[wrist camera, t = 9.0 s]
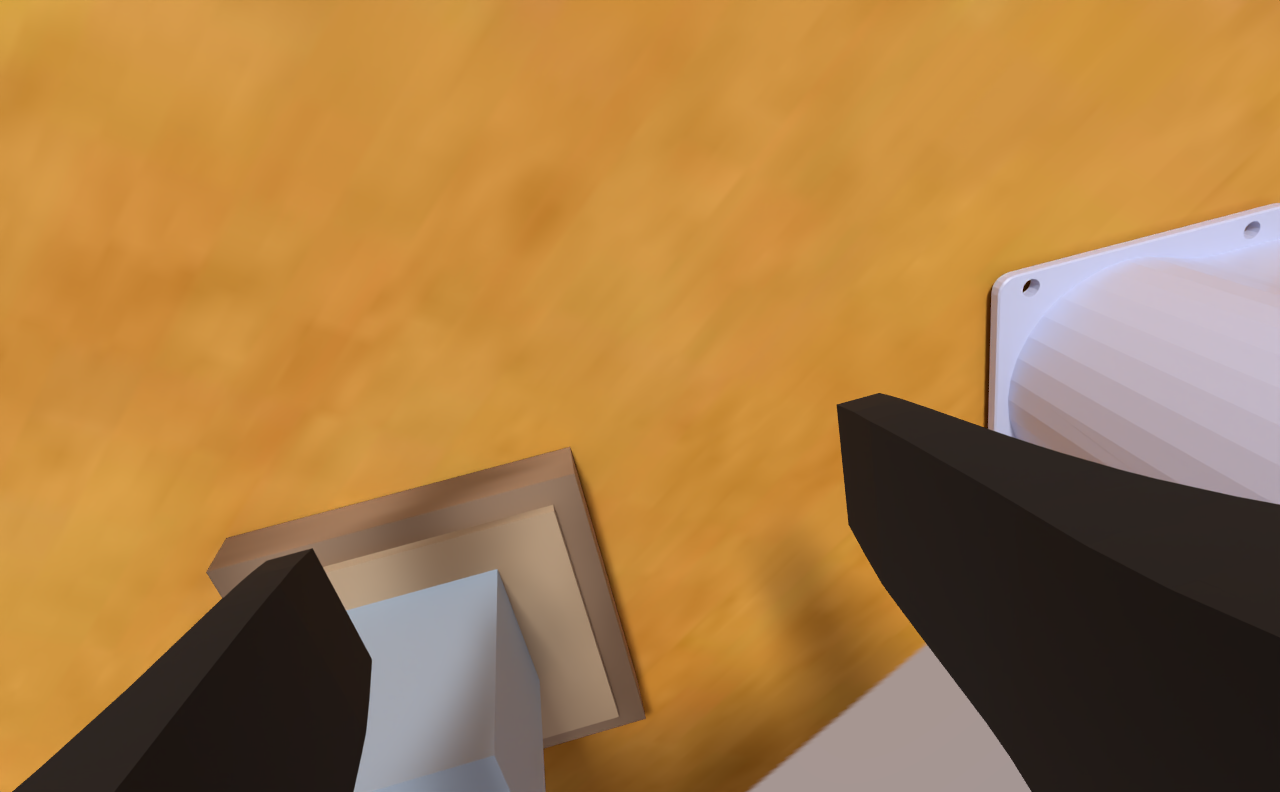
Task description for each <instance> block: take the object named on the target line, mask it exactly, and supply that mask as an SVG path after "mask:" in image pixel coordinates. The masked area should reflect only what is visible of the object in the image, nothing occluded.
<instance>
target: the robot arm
mask: <svg viewBox="0 0 1280 792" xmlns="http://www.w3.org/2000/svg"><path fill="white" fill-rule="evenodd" d="M1246 227H1247V228H1246ZM1245 228H1246V230H1245ZM1029 280H1030V281H1031V283H1030V286H1029V288H1028V289H1027V290H1026V291H1024V292H1023V287H1024V285H1025V284H1026V282H1027V281H1029ZM837 413H838V423H839V433H840V443H841V453H842V463H843V473H844V483H845V493H846V503H847V513H848V523H849V526H850V528H851V530H852V532H853V533H854V535H855V537H856V539H857V541H858V542H859V544H860V546H861V548H862V550H863V552H864V553H865V555H866V557H867V559H868V561H869V562H870V564H871V566H872V567H873V569H874V571H875V573H876V574H877V576H878V578H879V579H880V581H881V583H882V585H883V586H884V587H885V589H886V590H887V591H888V593H889V594H890V596H891V597H892V598H893V600H894V601H895V602H896V604H897V605H898V606H899V608H900V609H901V610H902V612H903V613H904V614H905V616H906V617H907V618H908V620H909V621H910V622H911V624H912V625H913V626H914V628H915V629H916V630H917V632H918V633H919V634H920V636H921V637H922V638H923V640H924V641H925V642H926V644H927V645H928V646H929V648H930V649H931V650H932V652H933V653H934V654H935V656H936V657H937V658H938V659H939V661H940V662H941V663H942V665H943V666H944V667H945V669H946V670H947V671H948V673H949V674H950V675H951V677H952V678H953V679H954V680H955V682H956V683H957V685H958V686H959V687H960V688H961V690H962V691H963V692H964V694H965V695H966V696H967V698H968V699H969V700H970V702H971V703H972V704H973V706H974V707H975V708H976V710H977V711H978V712H979V714H980V715H981V716H982V718H983V719H984V720H985V721H986V723H987V724H988V726H989V727H990V729H991V730H992V732H993V733H994V734H995V736H996V737H997V739H998V740H999V742H1000V743H1001V745H1002V746H1003V747H1004V749H1005V750H1006V752H1007V753H1008V754H1009V756H1010V758H1011V759H1012V761H1013V762H1014V764H1015V766H1016V767H1017V769H1018V770H1019V772H1020V774H1021V775H1022V777H1023V778H1024V780H1025V782H1026V783H1027V785H1028V787H1029V788H1030V790H1031V791H1032V792H1280V203H1274V204H1270V205H1266V206H1262V207H1258V208H1254V209H1250V210H1247V211H1243V212H1239V213H1235V214H1231V215H1227V216H1223V217H1220V218H1216V219H1212V220H1208V221H1204V222H1200V223H1197V224H1193V225H1189V226H1185V227H1181V228H1177V229H1173V230H1170V231H1166V232H1162V233H1158V234H1154V235H1150V236H1146V237H1143V238H1139V239H1135V240H1131V241H1127V242H1123V243H1119V244H1116V245H1112V246H1108V247H1104V248H1100V249H1096V250H1093V251H1089V252H1085V253H1081V254H1077V255H1073V256H1069V257H1066V258H1062V259H1058V260H1054V261H1050V262H1046V263H1042V264H1039V265H1035V266H1031V267H1027V268H1023V269H1019V270H1015V271H1012V272H1008V273H1006V274H1004V275H1002V276H1000V277H999V278H998V279H997V280H996V282H995V283H994V285H993V288H992V293H991V331H990V371H989V412H988V429H987V428H984V427H981V426H978V425H975V424H972V423H970V422H967V421H964V420H961V419H958V418H955V417H952V416H950V415H947V414H944V413H941V412H938V411H935V410H933V409H930V408H927V407H924V406H921V405H918V404H915V403H912V402H909V401H906V400H903V399H900V398H896V397H893V396H889V395H885V394H881V393H878V394H874V395H870V396H867V397H863V398H859V399H856V400H852V401H848V402H845V403H841V404H837ZM371 671H372V658H371V656H370V654H369V652H368V651H367V649H366V647H365V645H364V643H363V641H362V639H361V637H360V636H359V634H358V632H357V630H356V628H355V626H354V624H353V623H352V621H351V619H350V617H349V615H348V613H347V611H346V609H345V608H344V606H343V604H342V602H341V600H340V598H339V596H338V595H337V593H336V591H335V589H334V587H333V585H332V583H331V582H330V580H329V578H328V576H327V574H326V572H325V570H324V568H323V567H322V565H321V563H320V561H319V559H318V557H317V555H316V554H315V552H314V550H313V548H311V549H307V550H304V551H300V552H296V553H293V554H289V555H285V556H282V557H278V558H274V559H271V560H267V561H265V562H264V563H263V564H262V565H260V566H259V567H258V568H256V569H255V570H254V571H253V572H251V573H250V574H249V575H248V576H247V577H246V578H244V579H243V580H242V581H241V582H240V583H239V584H238V585H237V586H235V587H234V588H233V589H232V590H231V591H230V592H229V593H228V594H227V595H226V596H225V597H223V598H222V599H221V600H220V601H219V602H218V603H217V604H216V605H215V606H214V607H213V608H212V609H211V610H210V611H209V612H208V613H206V614H205V615H204V616H203V617H202V618H201V619H200V620H199V621H198V622H197V623H196V624H195V625H194V626H193V627H192V628H191V629H190V630H189V631H188V632H187V633H186V634H185V635H183V636H182V637H181V638H180V639H179V640H178V641H177V642H176V643H175V644H174V645H173V646H172V647H171V648H170V649H169V650H168V651H167V652H166V653H165V654H164V655H163V656H161V657H160V658H159V659H158V660H157V661H156V662H155V663H154V664H153V665H152V666H151V667H150V668H149V669H148V670H147V671H146V672H145V673H144V674H143V675H142V676H141V677H139V678H138V679H137V680H136V681H135V682H134V683H133V684H132V685H131V686H130V687H129V688H128V689H127V690H126V691H125V692H124V693H122V694H121V695H120V696H119V697H118V698H117V699H116V700H115V701H114V702H112V703H111V704H110V705H109V706H108V707H107V708H106V709H105V710H104V711H102V712H101V713H100V714H99V715H98V716H97V717H96V718H95V719H94V720H93V721H91V722H90V723H89V724H88V725H87V726H86V727H85V728H84V729H83V730H81V731H80V732H79V733H78V734H77V735H76V736H75V737H74V738H73V739H71V740H70V741H69V742H68V743H67V744H66V745H65V746H64V747H63V748H62V749H60V750H59V751H58V752H57V753H56V754H55V755H54V756H53V757H52V758H50V759H49V760H48V761H47V762H46V763H45V764H44V765H43V766H42V767H40V768H39V769H38V770H37V771H36V772H35V773H34V774H32V775H31V776H30V777H29V778H28V779H27V780H25V781H24V782H23V783H22V784H21V785H20V786H18V787H17V788H16V789H15V790H14V791H12V792H354V788H355V783H356V779H357V774H358V770H359V765H360V760H361V756H362V751H363V746H364V741H365V736H366V730H367V720H368V710H369V700H370V686H371Z"/></svg>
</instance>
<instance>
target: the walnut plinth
mask: <svg viewBox="0 0 1280 792" xmlns="http://www.w3.org/2000/svg"><path fill="white" fill-rule="evenodd" d="M311 548H313V550H314V552H315V554H316V555H317V557H318V559H319V561H320V563H321V565H322V567H323V568H324V570H325V572H326V574H327V576H328V578H329V580H330V582H331V583H332V585H333V587H334V589H335V591H336V593H337V595H338V596H339V598H340V600H341V602H342V604H343V606H344V608H345V609H346V610H350V609H353V608H357V607H361V606H364V605H368V604H372V603H375V602H379V601H382V600H386V599H390V598H393V597H397V596H401V595H404V594H408V593H412V592H415V591H419V590H422V589H426V588H430V587H433V586H437V585H441V584H444V583H448V582H452V581H455V580H459V579H462V578H466V577H470V576H473V575H477V574H481V573H484V572H488V571H492V570H495V569H498V572H499V574H500V577H501V580H502V582H503V585H504V588H505V590H506V593H507V596H508V598H509V601H510V603H511V606H512V609H513V611H514V614H515V617H516V619H517V622H518V625H519V627H520V630H521V633H522V635H523V638H524V640H525V643H526V646H527V648H528V651H529V654H530V656H531V659H532V662H533V664H534V667H535V670H536V672H537V675H538V678H539V680H540V698H541V717H542V735H543V749H544V748H547V747H551V746H554V745H557V744H561V743H564V742H568V741H571V740H574V739H578V738H581V737H585V736H588V735H592V734H595V733H598V732H602V731H605V730H609V729H612V728H615V727H619V726H622V725H626V724H629V723H632V722H636V721H639V720H643V719H646V717H645V713H644V708H643V703H642V699H641V694H640V689H639V685H638V681H637V677H636V674H635V671H634V667H633V664H632V660H631V657H630V653H629V650H628V646H627V643H626V639H625V636H624V632H623V629H622V626H621V622H620V619H619V615H618V612H617V608H616V605H615V601H614V598H613V594H612V591H611V588H610V584H609V581H608V577H607V574H606V570H605V567H604V563H603V560H602V556H601V553H600V549H599V546H598V543H597V539H596V536H595V532H594V529H593V525H592V522H591V518H590V515H589V511H588V508H587V505H586V501H585V498H584V494H583V491H582V487H581V484H580V480H579V477H578V473H577V470H576V466H575V463H574V460H573V456H572V453H571V449H570V447H568V448H564V449H561V450H557V451H553V452H549V453H546V454H542V455H538V456H534V457H530V458H527V459H523V460H519V461H515V462H512V463H508V464H504V465H500V466H497V467H493V468H489V469H485V470H481V471H478V472H474V473H470V474H466V475H463V476H459V477H455V478H451V479H448V480H444V481H440V482H436V483H433V484H429V485H425V486H421V487H417V488H414V489H410V490H406V491H402V492H399V493H395V494H391V495H387V496H384V497H380V498H376V499H372V500H368V501H365V502H361V503H357V504H353V505H350V506H346V507H342V508H338V509H335V510H331V511H327V512H323V513H319V514H316V515H312V516H308V517H304V518H301V519H297V520H293V521H289V522H286V523H282V524H278V525H274V526H270V527H267V528H263V529H259V530H255V531H252V532H248V533H244V534H240V535H237V536H233V537H229V538H226V540H225V541H224V543H223V545H222V546H221V548H220V550H219V551H218V553H217V555H216V556H215V558H214V560H213V562H212V563H211V565H210V567H209V568H208V570H207V572H206V573H207V574H208V576H209V577H210V579H211V581H212V582H213V584H214V586H215V587H216V589H217V590H218V592H219V594H220V595H221V597H222V598H223V597H225V596H226V595H227V594H228V593H229V592H230V591H231V590H232V589H233V588H234V587H235V586H237V585H238V584H239V583H240V582H241V581H242V580H243V579H244V578H246V577H247V576H248V575H249V574H250V573H251V572H253V571H254V570H255V569H256V568H258V567H259V566H260V565H262V564H263V563H264V562H265V561H267V560H271V559H274V558H278V557H282V556H285V555H289V554H293V553H296V552H300V551H304V550H307V549H311Z"/></svg>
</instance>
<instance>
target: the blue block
mask: <svg viewBox="0 0 1280 792" xmlns="http://www.w3.org/2000/svg"><path fill="white" fill-rule="evenodd" d="M346 611H347V613H348V615H349V617H350V619H351V621H352V623H353V624H354V626H355V628H356V630H357V632H358V634H359V636H360V637H361V639H362V641H363V643H364V645H365V647H366V649H367V651H368V652H369V654H370V656H371V658H372V671H371V686H370V700H369V710H368V720H367V730H366V736H365V741H364V746H363V751H362V756H361V760H360V765H359V770H358V774H357V779H356V783H355V788H354V792H546V790H545V772H544V753H543V735H542V717H541V698H540V680H539V678H538V675H537V672H536V670H535V667H534V664H533V662H532V659H531V656H530V654H529V651H528V648H527V646H526V643H525V640H524V638H523V635H522V633H521V630H520V627H519V625H518V622H517V619H516V617H515V614H514V611H513V609H512V606H511V603H510V601H509V598H508V596H507V593H506V590H505V588H504V585H503V582H502V580H501V577H500V574H499V572H498V569H495V570H492V571H488V572H484V573H481V574H477V575H473V576H470V577H466V578H462V579H459V580H455V581H452V582H448V583H444V584H441V585H437V586H433V587H430V588H426V589H422V590H419V591H415V592H412V593H408V594H404V595H401V596H397V597H393V598H390V599H386V600H382V601H379V602H375V603H372V604H368V605H364V606H361V607H357V608H353V609H350V610H346Z"/></svg>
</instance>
